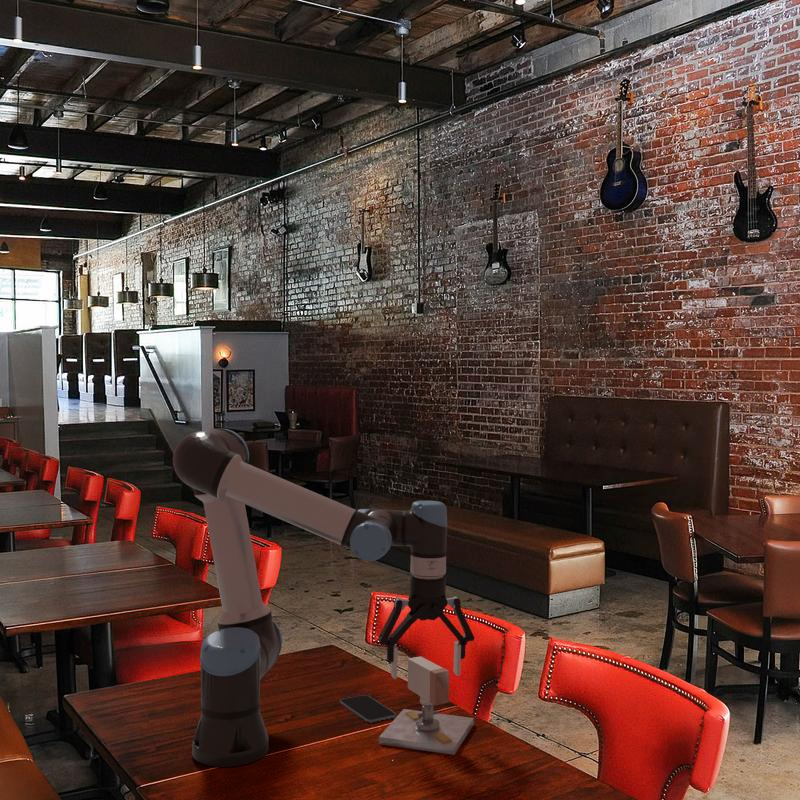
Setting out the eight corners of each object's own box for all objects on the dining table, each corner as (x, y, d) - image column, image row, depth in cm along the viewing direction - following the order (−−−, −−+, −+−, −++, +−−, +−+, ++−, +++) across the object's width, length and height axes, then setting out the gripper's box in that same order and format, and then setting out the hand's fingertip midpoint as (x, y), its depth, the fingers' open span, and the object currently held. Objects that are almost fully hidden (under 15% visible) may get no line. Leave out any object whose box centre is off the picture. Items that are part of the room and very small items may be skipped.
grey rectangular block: (407, 695, 189) (407, 658, 189) (420, 692, 191) (420, 655, 191) (435, 712, 180) (435, 673, 180) (448, 709, 182) (449, 670, 181)
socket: (454, 754, 176) (454, 722, 175) (379, 744, 181) (379, 712, 180) (473, 724, 191) (473, 695, 190) (403, 715, 196) (403, 686, 196)
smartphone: (366, 694, 208) (398, 714, 195) (366, 698, 208) (398, 718, 195) (338, 699, 204) (368, 720, 191) (338, 703, 204) (368, 725, 191)
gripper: (372, 580, 179) (370, 684, 179) (490, 577, 184) (487, 678, 184) (366, 572, 186) (364, 671, 187) (480, 569, 191) (477, 666, 192)
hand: (425, 675), depth 185 cm, fingers open, 13 cm apart
